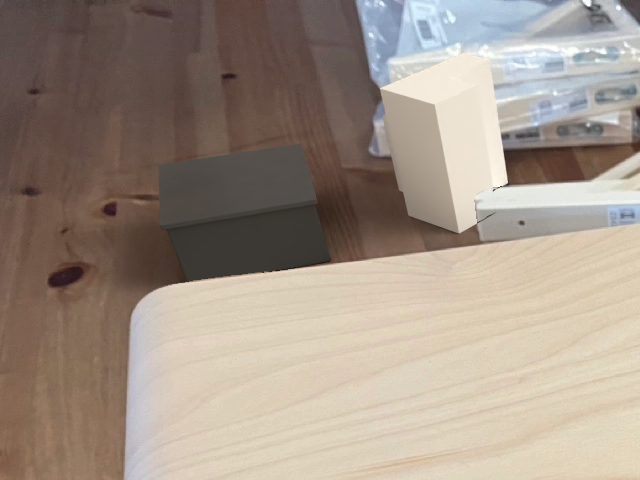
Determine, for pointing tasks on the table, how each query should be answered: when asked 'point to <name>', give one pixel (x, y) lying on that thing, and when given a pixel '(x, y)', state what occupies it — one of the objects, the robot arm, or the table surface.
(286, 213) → the box
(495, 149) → the cream block
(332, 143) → the table surface
